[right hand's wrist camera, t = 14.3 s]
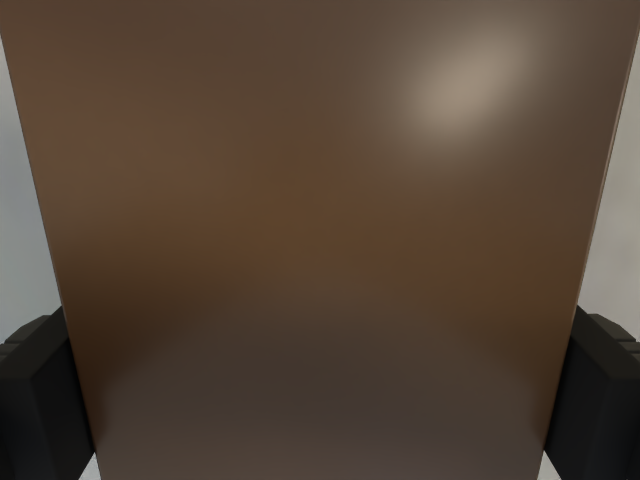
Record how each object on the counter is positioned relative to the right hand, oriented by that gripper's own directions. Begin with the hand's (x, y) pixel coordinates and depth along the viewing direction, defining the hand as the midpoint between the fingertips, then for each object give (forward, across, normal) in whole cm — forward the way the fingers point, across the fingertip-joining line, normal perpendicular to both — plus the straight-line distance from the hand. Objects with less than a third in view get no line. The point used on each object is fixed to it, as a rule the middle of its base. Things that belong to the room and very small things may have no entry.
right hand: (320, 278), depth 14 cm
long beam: (+2, 0, -31) cm, 31 cm away
